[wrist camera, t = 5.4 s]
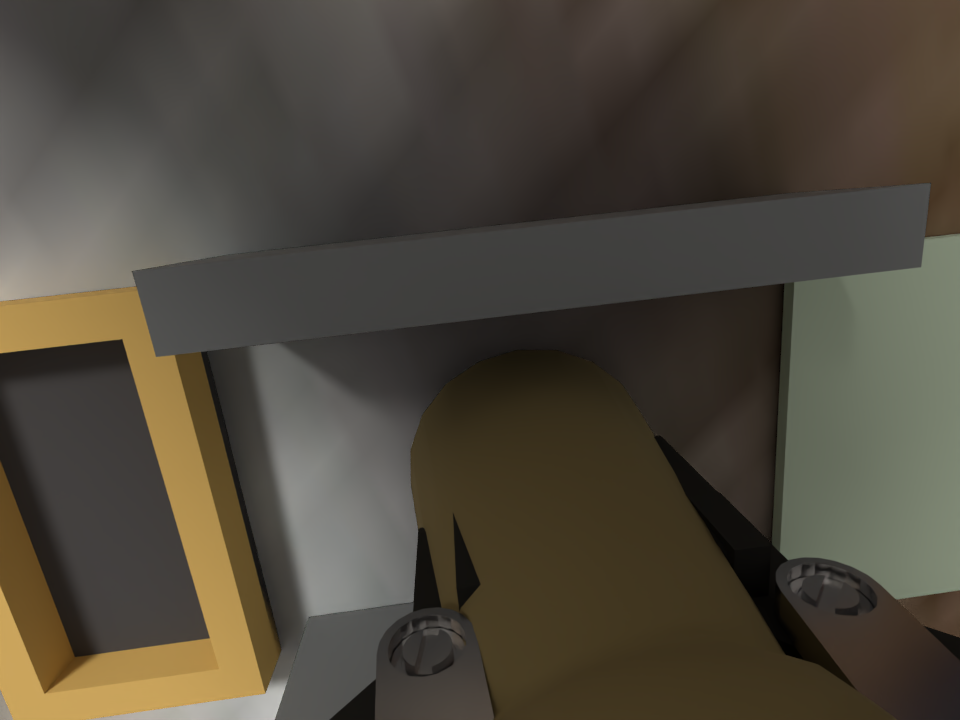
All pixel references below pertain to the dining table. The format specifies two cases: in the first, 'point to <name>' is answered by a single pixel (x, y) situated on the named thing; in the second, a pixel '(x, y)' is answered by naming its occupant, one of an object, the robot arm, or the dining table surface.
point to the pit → (119, 521)
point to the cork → (594, 559)
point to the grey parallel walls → (508, 310)
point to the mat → (874, 423)
